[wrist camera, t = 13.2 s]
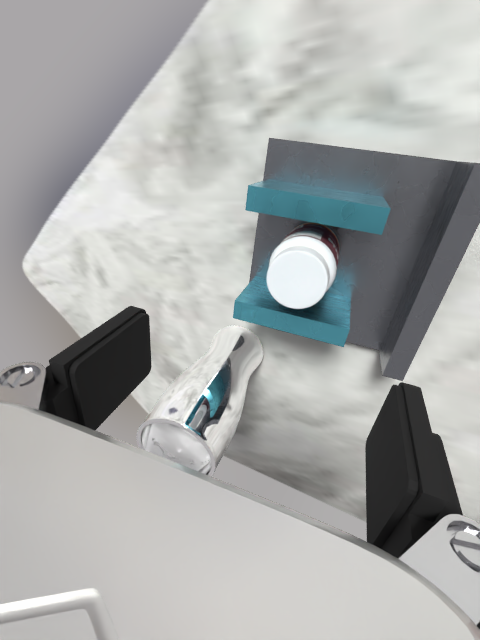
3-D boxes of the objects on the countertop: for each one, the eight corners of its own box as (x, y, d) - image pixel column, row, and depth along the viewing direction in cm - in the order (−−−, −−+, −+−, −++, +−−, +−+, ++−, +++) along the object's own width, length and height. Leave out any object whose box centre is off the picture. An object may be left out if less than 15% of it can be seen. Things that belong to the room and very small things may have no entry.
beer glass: (249, 312, 33) (184, 409, 21) (278, 365, 35) (234, 482, 23) (199, 331, 37) (117, 425, 24) (228, 378, 38) (166, 488, 26)
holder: (272, 138, 25) (246, 133, 19) (477, 164, 22) (522, 168, 16) (247, 311, 33) (224, 345, 27) (395, 349, 30) (405, 396, 24)
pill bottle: (339, 275, 27) (333, 316, 20) (285, 275, 29) (263, 313, 22) (341, 219, 25) (335, 243, 18) (283, 222, 27) (257, 245, 20)
